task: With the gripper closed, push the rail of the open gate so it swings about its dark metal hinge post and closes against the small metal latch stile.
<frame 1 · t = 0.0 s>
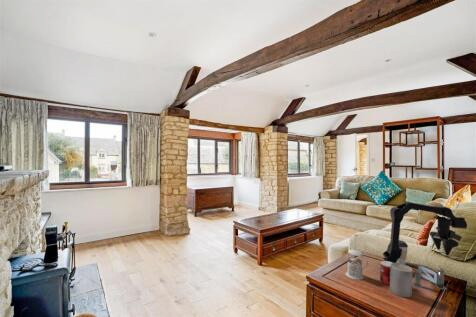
hand: (442, 252, 143), 15 cm above the table, fingers open, 9 cm apart
coffee cup: (399, 263, 160), on the table
gate: (427, 274, 137), point 4 cm above the table, hinge at 62.0°
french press: (356, 276, 140), on the table
latch stile: (417, 285, 131), on the table
pillar candle: (400, 292, 123), on the table
canned food: (388, 283, 133), on the table
hinge post: (440, 287, 129), on the table
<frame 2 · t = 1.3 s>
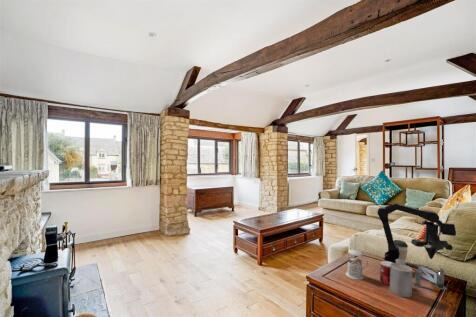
hand: (430, 258, 139), 12 cm above the table, fingers closed
nothing on the table moved.
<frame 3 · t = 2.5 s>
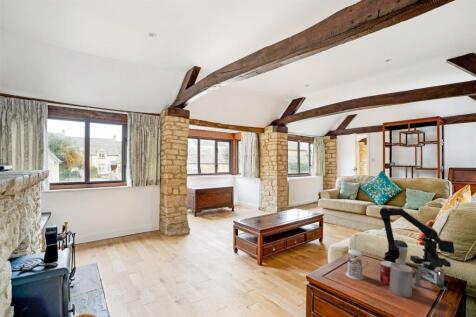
hand: (429, 275, 139), 2 cm above the table, fingers closed
gate: (427, 274, 137), point 4 cm above the table, hinge at 62.0°, touching gripper
everything else where it was.
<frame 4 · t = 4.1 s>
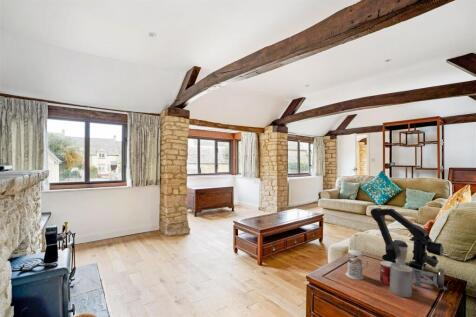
hand: (418, 275, 138), 2 cm above the table, fingers closed
gate: (424, 276, 134), point 4 cm above the table, hinge at 21.3°, touching gripper
everything else where it was.
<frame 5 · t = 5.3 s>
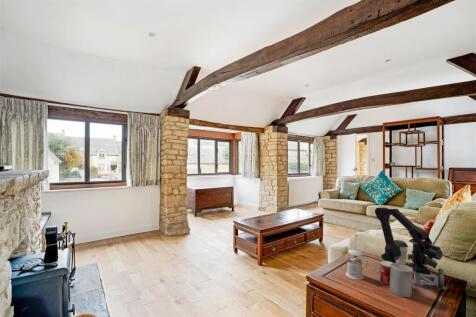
hand: (417, 278, 135), 2 cm above the table, fingers closed
gate: (425, 278, 131), point 4 cm above the table, hinge at -1.4°, touching gripper, latch stile
everything else where it was.
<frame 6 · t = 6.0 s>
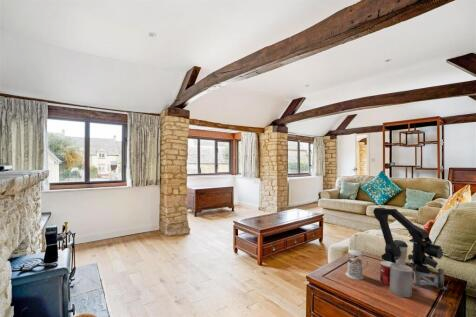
hand: (417, 277, 136), 2 cm above the table, fingers closed
gate: (425, 278, 131), point 4 cm above the table, hinge at -1.4°, touching latch stile
everything else where it was.
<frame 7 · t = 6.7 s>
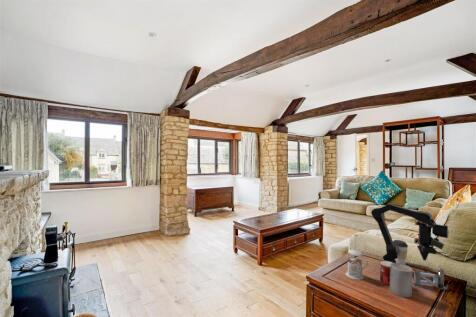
hand: (424, 260, 137), 12 cm above the table, fingers closed
nothing on the table moved.
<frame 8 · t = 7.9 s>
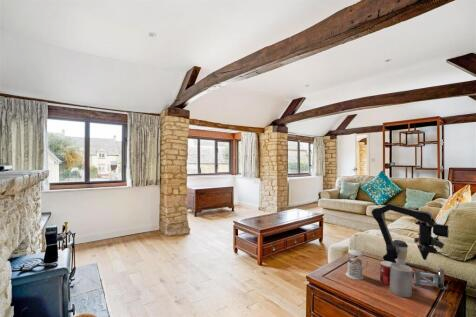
hand: (424, 259, 138), 12 cm above the table, fingers closed
nothing on the table moved.
at the end: gate at -1° (first picture: +62°) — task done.
